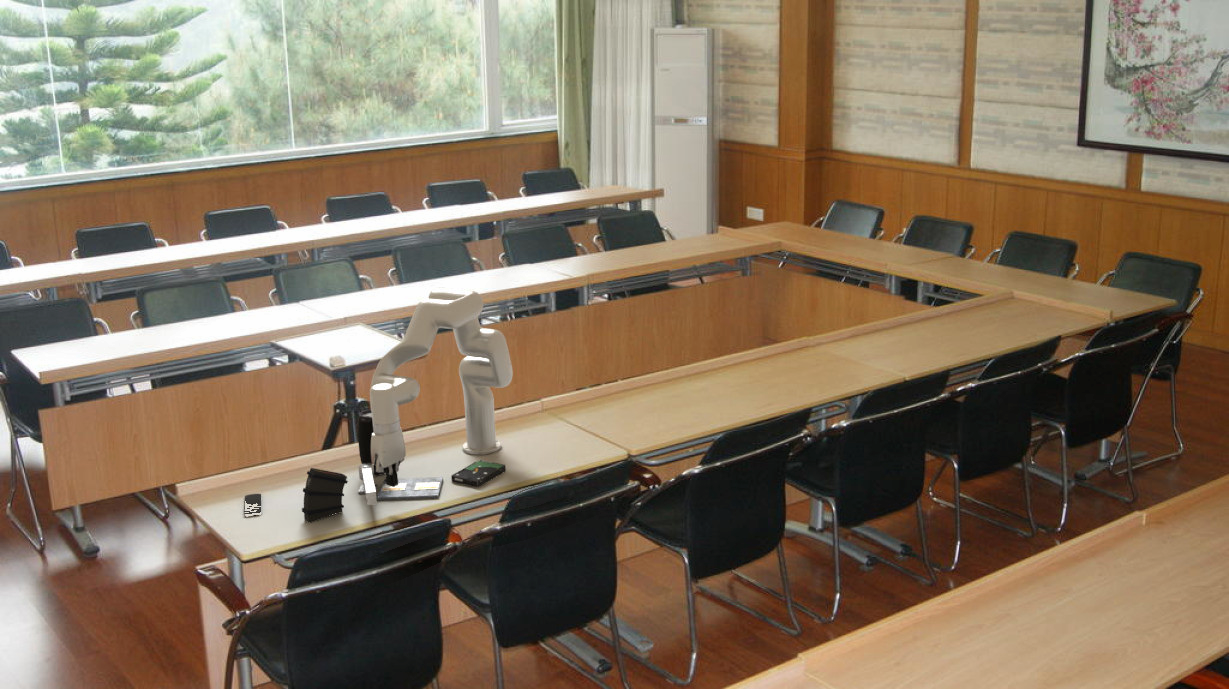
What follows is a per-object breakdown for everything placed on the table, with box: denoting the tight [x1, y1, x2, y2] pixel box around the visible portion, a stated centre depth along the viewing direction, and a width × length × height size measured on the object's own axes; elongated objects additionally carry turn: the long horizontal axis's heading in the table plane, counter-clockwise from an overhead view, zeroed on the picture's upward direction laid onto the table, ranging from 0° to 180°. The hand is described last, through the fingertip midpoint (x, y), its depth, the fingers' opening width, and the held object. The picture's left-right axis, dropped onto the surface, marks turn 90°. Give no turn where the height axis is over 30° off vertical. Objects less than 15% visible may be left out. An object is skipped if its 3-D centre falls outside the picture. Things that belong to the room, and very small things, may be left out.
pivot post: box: [357, 482, 379, 495], centre depth 362 cm, size 5×5×4 cm
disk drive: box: [450, 459, 507, 489], centre depth 371 cm, size 10×3×15 cm
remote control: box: [243, 493, 262, 515], centre depth 353 cm, size 5×2×15 cm
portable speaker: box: [357, 408, 385, 477], centre depth 374 cm, size 9×9×20 cm
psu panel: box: [376, 476, 444, 501], centre depth 362 cm, size 14×18×1 cm
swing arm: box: [358, 463, 377, 506], centre depth 352 cm, size 4×23×4 cm, turn 15°
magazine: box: [301, 467, 349, 523], centre depth 344 cm, size 4×13×15 cm, turn 130°
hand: (392, 485), depth 348 cm, fingers closed
